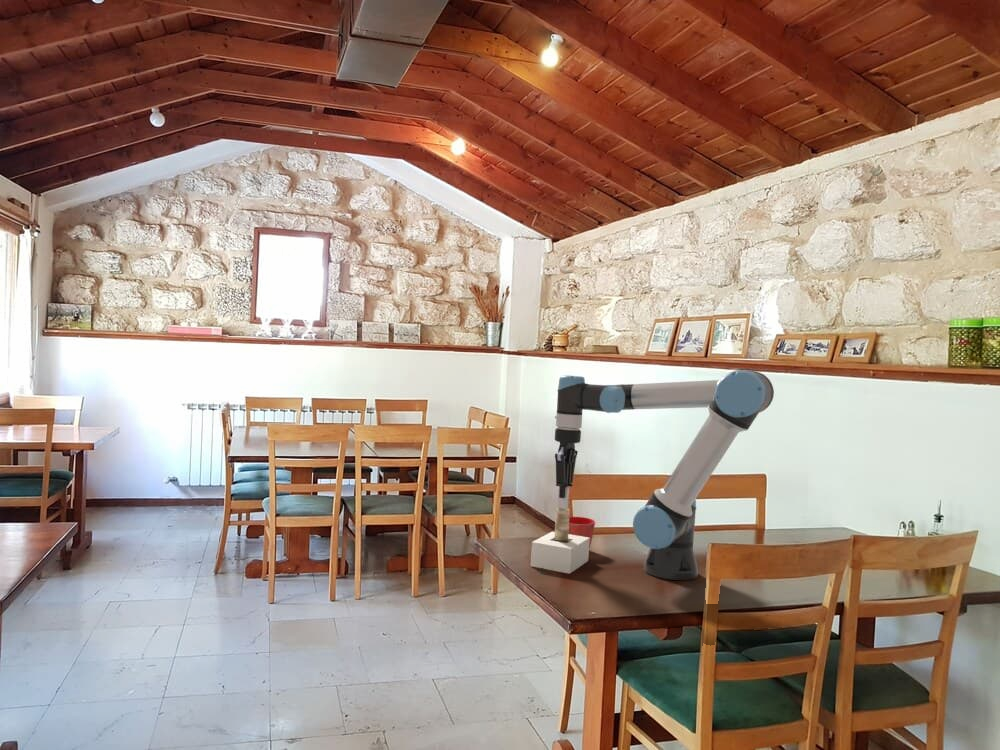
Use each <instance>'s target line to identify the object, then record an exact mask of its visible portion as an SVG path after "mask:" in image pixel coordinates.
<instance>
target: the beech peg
mask: <svg viewBox="0 0 1000 750" xmlns="http://www.w3.org/2000/svg"><path fill="white" fill-rule="evenodd" d="M569 517H570V509H569V508H568V509H567V510H565V509H559V508H558V507H557V508H556V509H555V521H554V523H555V524H554V532H555V538H554V541H557V542H563V543H568V533H569Z"/></svg>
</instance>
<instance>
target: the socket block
mask: <svg viewBox="0 0 1000 750" xmlns="http://www.w3.org/2000/svg"><path fill="white" fill-rule="evenodd" d="M554 538H555V531H550V532H548V533H545V535H543V536H541V537H539V538H537V539H535V540H533V541H531V550H530V551H531V552H530V566H529V567H534V568H538V569H542V568H543V570H548V571H554V572H559V573H564V574H571V573H573V572H575V571H576V570H577V569H579V568H580V567H581V566H583V565H584V564H586V563H587V562H589V555H590V554H589V553H590V549H589V541H590V538H589V537H583V536H577V535H571V534H568V543H563V542H557V541H554Z"/></svg>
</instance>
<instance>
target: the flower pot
mask: <svg viewBox="0 0 1000 750" xmlns="http://www.w3.org/2000/svg"><path fill="white" fill-rule="evenodd" d="M595 524H596V521H595V520H594V519H592V518H589V517H584V516H569V533H568V534H571V535H577V536H583V537H589V538H590V541H589V550H591V545H592V540H593V537H594V536H593V535H594V532H595V531H594V530H595V526H596V525H595Z"/></svg>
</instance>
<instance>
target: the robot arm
mask: <svg viewBox="0 0 1000 750" xmlns="http://www.w3.org/2000/svg"><path fill="white" fill-rule="evenodd" d="M772 383H773V382H772V381H771V380H770V378H768V377H767V376H766V375H765V374H763V373H762V372H759V371H756V370H746V369H738V370H734V371H730V372H729V373H726V375H724V376H722V377H721V378H720V379H714V380H713V379H712V380H709V379H708V380H694V381H693V380H691V381H673V382H653V383H652V382H651V383H633V384H632V383H631V384H629V383H628V384H625V383H624V384H590V383H586V379H585V377H584V376H580V375H579V376H578V375H565V374H564V375H561V376H560V377H559V380H558V387H557V391H556V392H557V399H556V400H557V402H556V403H557V405H556V407H557V408H556V415H555V416H554V418H555V419H556V420H555V426H556V427H557V428H555V429H554V440H555V442H559V447H558V449H557V450H558V451H557V453H555V454H554V458H555V459H554V460H555V487H558V497H557V508H559V509H565V510H567V509H569V499H570V487H571V488H572V487H573V486H574V485H573V481H574V476H575V468H576V461H577V457H578V453H579V451H578V450H577V449H576V446H575V445H576V444H579V443H580V442H581V437H582V431H581V429H582V427H583V425H582V424H583V410H585V411H595V412H604V413H607V414H612V413H614V414H615V413H616V414H618V413H621V412H622V411H624V410H625V411H627V410H628V411H630V410H632V411H633V410H655V409H656V410H658V409H661V410H662V409H697V408H699V409H701V408H702V409H703V408H707V409H708V413H709V415H708V417H707V418H706V420H705V422H704V423H703V424H702V426H701V427H700V429H699V430H698V432H697V434H696V436H695V437H694V439H693V440H692V442H691V443H690V445H689V446H688V448H687V449H686V452H685V453H684V455H683V456H682V458H681V459H680V461H679V462H678V464H677V465H676V467H675V469H674V470H673V471H672V473H671V474H670V476H669V478H668V479H667V482H666V483H665V484H664V486H663V487H662V488H656V489H655V490H654V491H653V493H652V494H651V496H650V497H649V499H648V500H647V502H646V503H645V505H644V506H642V507H641V508H640V509H639V510H637V512H636V513H635V515H634V517H633V520H632V528H633V532H634V535H635V537H636V538H637V540H638V542H640V543H641V544H642V545H643V546H645V547H646V548H649V550H648V553H647V555H646V557H645V559H644V563H643V564H644V565H643V571H644V572H645V573H646V574H649V575H651V576H653V577H656V578H660V579H664V580H665V579H666V580H673V581H689V580H690V581H691V580H694V579H696V578H698V575H699V574H698V572H699V569H698V563H697V560H696V555H695V551H694V538H695V527H696V526H695V525H696V513H697V512H696V511H697V501H696V498H697V497H698V495H699V494H700V492H701V491H702V490H703V488H704V487H705V486H706V483H707V482H708V480H709V478H710V477H711V476H712V474H713V473H714V471H715V469H716V468H717V466H719V463H720V462H721V461H722V459H723V458H724V456H725V454H726V453H727V451H728V449H729V448H730V446H731V445H732V443H733V442H734V440H735V439H736V438H737V436H738V434H739V433H741V432H742V433H743V432H745V431H748V430H749V428H750V426H752V424H753V422H755V419H756V418H757V417H758V415H759V414H760V413H761V412H764V411H765V410H767V409H768V408H769V407H770V406H771V404H772V402H773V399H774V396H775V395H774V393H775V390H774V385H773V384H772Z"/></svg>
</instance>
